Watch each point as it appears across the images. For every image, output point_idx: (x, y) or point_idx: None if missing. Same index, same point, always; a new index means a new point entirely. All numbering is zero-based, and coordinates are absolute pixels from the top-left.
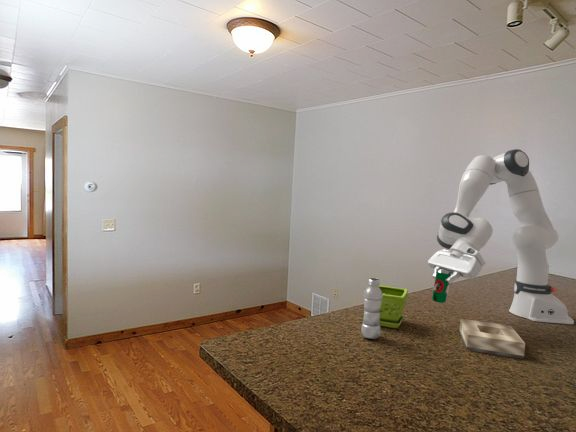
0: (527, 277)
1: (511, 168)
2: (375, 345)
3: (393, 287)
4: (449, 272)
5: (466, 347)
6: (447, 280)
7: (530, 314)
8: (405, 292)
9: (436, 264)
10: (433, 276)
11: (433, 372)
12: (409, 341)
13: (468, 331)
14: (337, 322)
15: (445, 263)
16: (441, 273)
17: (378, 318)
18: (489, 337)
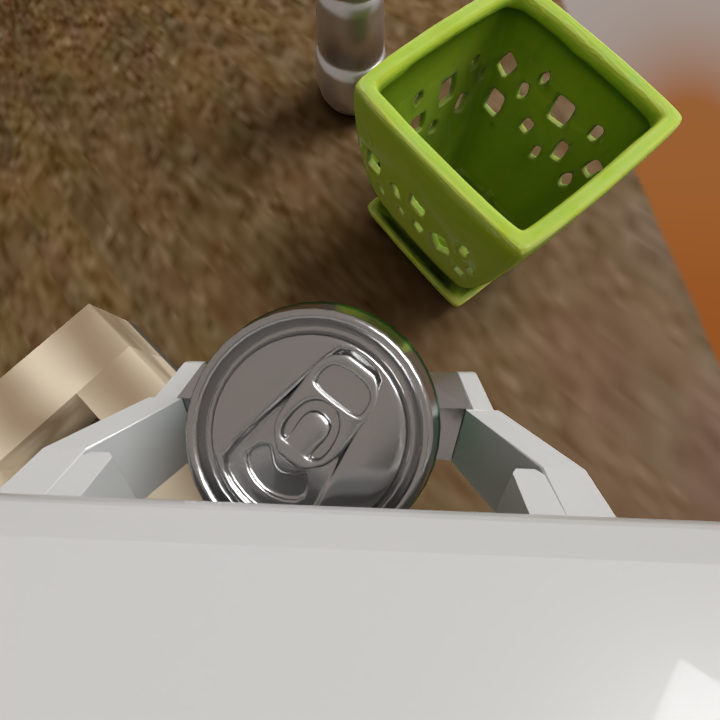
0: None
1: None
2: (295, 78)
3: (585, 188)
4: (200, 455)
5: (133, 325)
6: (205, 362)
7: None
8: (443, 169)
9: (655, 527)
10: (449, 373)
11: (93, 108)
12: (276, 192)
13: (109, 340)
14: None
15: (415, 652)
16: (271, 312)
17: (317, 14)
18: (17, 370)
